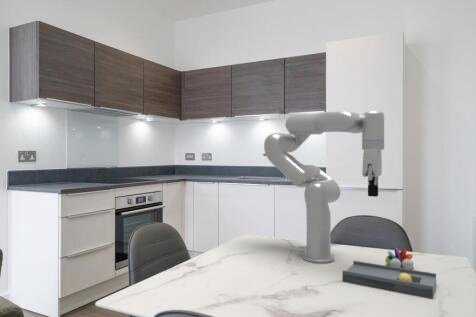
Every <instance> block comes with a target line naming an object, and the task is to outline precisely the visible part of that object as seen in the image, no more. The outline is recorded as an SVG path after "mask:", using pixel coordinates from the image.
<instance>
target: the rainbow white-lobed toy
mask: <svg viewBox="0 0 476 317" xmlns="http://www.w3.org/2000/svg"><path fill="white" fill-rule="evenodd" d="M387 254H388V255H387V256H386V258H385V262H386V263H387V265H388V266H391V267H397V268H404V269H410V270H413V268H414V264H415V263H414V262H413V261H412V260H411V259H413V254H412V253H407V249H406V248H402V249H401V250H399V248H398V247H395V248H394V254H393V253H392V251H388V252H387Z"/></svg>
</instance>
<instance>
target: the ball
mask: <svg viewBox="0 0 476 317" xmlns="http://www.w3.org/2000/svg"><path fill="white" fill-rule="evenodd" d="M398 280H402V281H408V282H412V278H411V277H410V275H408V274H406V273H402V274H400V275H399V277H398Z"/></svg>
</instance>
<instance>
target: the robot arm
mask: <svg viewBox="0 0 476 317" xmlns="http://www.w3.org/2000/svg"><path fill="white" fill-rule="evenodd" d="M284 124H285V125H284V126H285V128H286V130H287V132H288V133H284V132H283V133H281V132H275V133H274V132H273V133H271V134H269V135H267V136H266V138H265V139H264V144H263V150H264V154H265V156H266V158H267V160H268V161H269V162H270V163H271V164H272V165H273V166H274V167H275V168H276V169H278V171H280V172H281V173H282V174H283V175H284V176H285V177H286V178H287V179H288V180H289V181H290V182H291V183H292V184H293V185H294V186H295V187H298V188H305V190H304V191H303V192H304V195H303V196H304V202H305V208H306V245H304V246H303V245H298V246H297V251H298V252H303V254H302V259H303V260H304V261H307V262H311V263H318V264H328V263H331V262H334V261H335V258H336V257H335V255H334V254H332V253H331V252H332V250H331V245H332V244H331V240H332V238H331V236H332V235H331V234H332V233H331V228H332V226H331V218H332V217H331V211H330V206H329V204H330V203H334V202H336V201H338V200H339V198H340V196H341V188H340V185H339V184H338V183H337V182H336V181H335V180H334V179H333V178H332V177H331V176H329V174H327V173H326V172H324V171H323V170H322V169H321V168H320V167H318V166H316V165H313V164H303V163H301V162H300V161H299V160H298V159H296V157H294V156H293V155H291V154H290V153H292V152H295V151H297V150H298V149H299V148H300V147H301V146H302V145H303V144H304V143H305V142H306V141H307V140H308V138H310V136H312V135H322V134H324V133H331V132H332V133H333V132H335V133H336V132H337V133H338V132H339V133H341V132H342V133H349V134H351V133H352V134H360V133H361V150H362V151H363V154H362V170H361V171H362V173H361V176H362V177H365V178H366V177H367V196H368V197H374V198H375V197H379V177H381V176H382V169H383V168H382V166H383V165H382V164H383V163H382V162H383V160H382V151H383V150H385V114H384V112H382V111H379V110H372V111H365V112H363V113H356V112H352V111H345V110H344V111H343V110H342V111H328V112H321V113H304V114H303V113H302V114H293V115H290V116H289V117H288V118H287V119H286V120H285V123H284Z"/></svg>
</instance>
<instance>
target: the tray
mask: <svg viewBox="0 0 476 317" xmlns="http://www.w3.org/2000/svg"><path fill="white" fill-rule="evenodd" d="M402 273H406V274H408V275H410V277H411V278H412V282H408V281H402V280H398V277H399V275H400V274H402ZM342 283H349V284H354V285H359V286H363V287H370V288H375V289H381V290H384V291H385V290H386V291H389V292H395V293H401V294H406V295H411V296H417V297H422V298H425V299H432V300H433V298H434V295H435V291H436V286H437V273H435V272H434V273H433V272H428V271H422V270H417V269H415V270H414V269H404V268H402V267H400V268H397V267H391V266H390V265H384V264H376V263H371V262H363V261H358V260H353V264H352V265H350V266H349V267H348V268H347V269H346V270H342Z"/></svg>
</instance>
